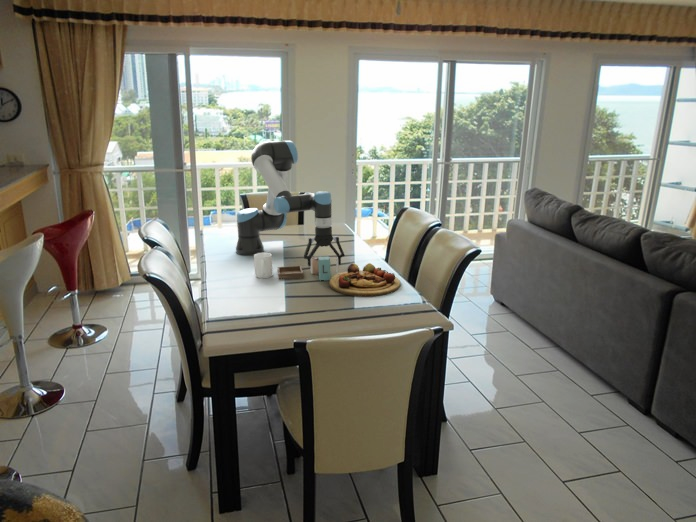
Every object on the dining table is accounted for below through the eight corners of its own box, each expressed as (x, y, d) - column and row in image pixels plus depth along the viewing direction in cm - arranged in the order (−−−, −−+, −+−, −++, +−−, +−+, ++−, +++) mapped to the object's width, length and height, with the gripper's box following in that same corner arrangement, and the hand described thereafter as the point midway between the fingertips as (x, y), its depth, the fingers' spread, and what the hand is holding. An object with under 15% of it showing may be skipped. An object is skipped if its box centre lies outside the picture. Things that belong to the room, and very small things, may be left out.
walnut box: (277, 271, 256) (277, 267, 255) (301, 270, 258) (301, 265, 257) (278, 279, 245) (278, 274, 245) (303, 277, 247) (303, 272, 246)
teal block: (318, 277, 248) (318, 256, 245) (329, 276, 249) (328, 256, 246) (320, 280, 243) (319, 260, 240) (330, 280, 244) (330, 259, 241)
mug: (272, 280, 244) (271, 259, 241) (254, 281, 243) (252, 260, 240) (273, 272, 255) (271, 252, 252) (255, 273, 254) (254, 252, 251)
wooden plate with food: (349, 303, 217) (349, 284, 215) (317, 279, 244) (317, 262, 242) (414, 291, 231) (415, 273, 229) (377, 271, 258) (378, 254, 256)
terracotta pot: (310, 270, 258) (309, 256, 256) (324, 269, 259) (324, 255, 257) (311, 274, 251) (311, 260, 249) (326, 274, 252) (325, 259, 250)
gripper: (297, 229, 233) (299, 276, 240) (350, 226, 237) (351, 272, 243) (296, 225, 240) (298, 271, 247) (348, 223, 244) (348, 268, 250)
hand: (324, 272), depth 245 cm, fingers open, 11 cm apart
